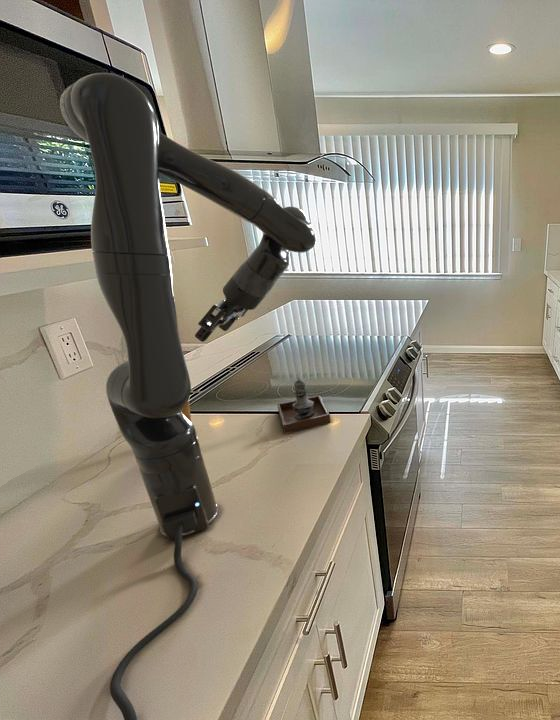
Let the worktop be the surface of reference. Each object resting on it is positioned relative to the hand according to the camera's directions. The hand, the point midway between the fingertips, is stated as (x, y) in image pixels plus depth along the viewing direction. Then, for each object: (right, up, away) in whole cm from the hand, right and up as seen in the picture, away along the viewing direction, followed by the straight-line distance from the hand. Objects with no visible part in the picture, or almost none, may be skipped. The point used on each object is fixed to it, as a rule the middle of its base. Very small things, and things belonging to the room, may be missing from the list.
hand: (211, 333), depth 92 cm
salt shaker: (+11, -23, +26) cm, 36 cm away
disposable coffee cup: (-19, -27, +15) cm, 37 cm away
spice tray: (+10, -23, +26) cm, 36 cm away
